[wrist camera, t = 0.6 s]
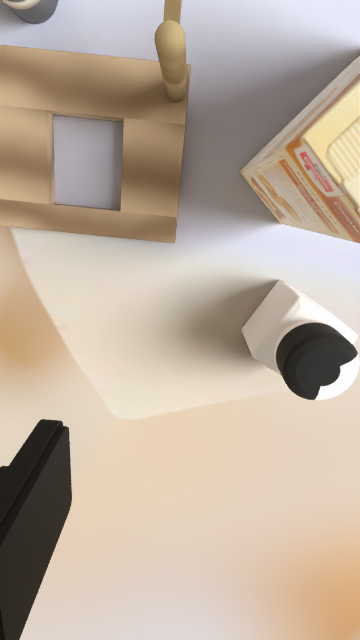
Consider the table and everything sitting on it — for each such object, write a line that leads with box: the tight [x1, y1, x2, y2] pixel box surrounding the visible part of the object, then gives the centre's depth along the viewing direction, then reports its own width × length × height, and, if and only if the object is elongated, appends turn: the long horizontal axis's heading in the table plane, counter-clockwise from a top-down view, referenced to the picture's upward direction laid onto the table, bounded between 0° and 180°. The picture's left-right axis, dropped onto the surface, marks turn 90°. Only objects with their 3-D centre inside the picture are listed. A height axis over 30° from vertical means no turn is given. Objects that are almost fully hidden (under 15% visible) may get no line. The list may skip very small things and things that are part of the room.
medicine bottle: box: [242, 280, 359, 400], centre depth 32 cm, size 7×7×12 cm
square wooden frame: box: [0, 0, 190, 243], centre depth 27 cm, size 17×18×12 cm
